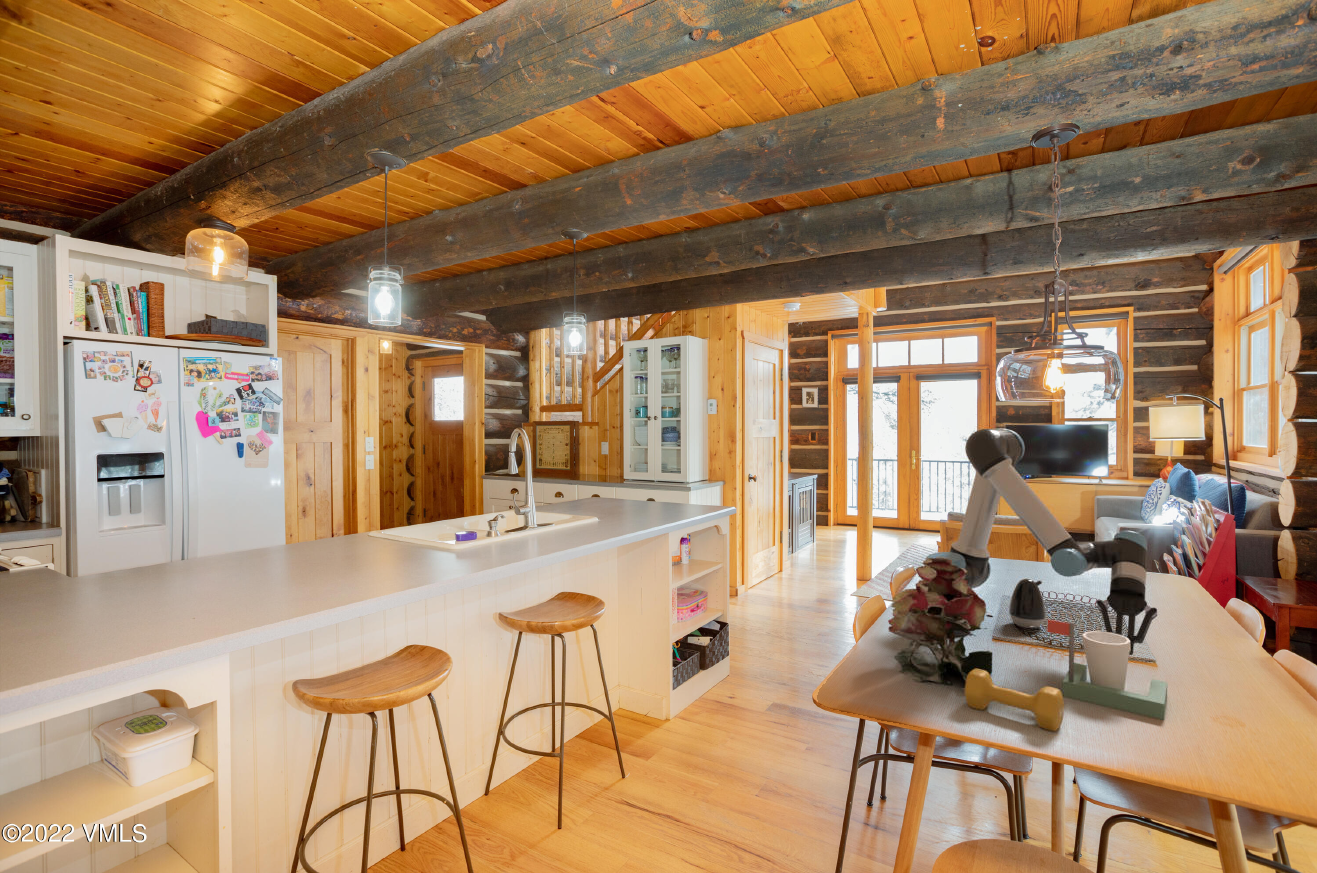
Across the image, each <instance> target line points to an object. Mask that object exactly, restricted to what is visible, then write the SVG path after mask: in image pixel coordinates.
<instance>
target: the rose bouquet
mask: <svg viewBox="0 0 1317 873" xmlns="http://www.w3.org/2000/svg"><path fill="white" fill-rule="evenodd" d="M921 563H922V565H921V566H918V567H915V568H916V569H915V572H916V574H917V576H918V577H919V578H920V579H919V580H918V582H916V583H915V585H914V586H915V588H906V589H903V590H902V591H900V592H899V593H897V594H896V595H895V596H893V598H892V600H891V602H893V603H891V608H894V609H892V616H893V617H892V618H890V619H889V620H887V621H888V622H887V623H888V624H889V625H890V626H889V627H888V632H889V633H890V634H891V633H892V634H894V635H897V636H899V637H902V638H906V639H907V640H910V642H909V643H908V647H905V648H903V649H901V651H900V652H897V653H896V655H894V658H895V659H896V660H897V662H899V664H900V665H901V669H900V670H899V673H901V674H903V675H905V676H908V677H910V679H912V680H913V681H914V682H915V683H916V682H917V683H921V682H922V683H923V681H931V682H935V683H938V684H942V685H946V686H950V687H951V686H953V683H952V682H950V681H948V680H946V679H945V678H943V677H946V674H947V671H948V670H949V668H950V669H952V670H953V671H956V672H957V673H958V674H961V675H962V678H963V681H965V682H966V679H967V676H968V674H969V672H971V671H972V670H973V669H981V670H985V671H987V672H988V673H989V674H990V675H992V673H993V652H992V651H991V650H977V651H970V652H968V655H966V646H965V644H964V638H965V636H961V637H960V638H959V639H958V640H956V636H955V634H954V630H955V631H959V632H962V633H964V634H967V635H966V636H970V637H972V636H974V637H976V635H975V634H974V633H969V632H968V631H971V632H975V631H978V630H982V629H983V630H984V629H985V630H988V629H989V628H988V627H984V628H982V627H981V626H982V625H981V624H982V622H984V621H985V617H988V618H994V615H991V614H987V613H988V611H987V607H986V606H987V605H986V604H987V603H986V602H985V600H984V599H982V597H979V596H980V595H979V594H978V593H976V591H975V590H974V589H973V588H972V589H971V588H970V586H968V585H967V583H968V581H966V580H964V579H963V578H965V577H964V576H965V574H966V573H967V571H966V570H965V569H963V568H961V567H957V566H956V565H954V564H952V560H950V559H947V558H943V557H940V558H939V557H937V558H927V560H926V561H925V560H923V562H921ZM955 640H956V641H955ZM914 643H915V645H914ZM996 643H998V640H996ZM912 646H913V647H912ZM921 646H923V647H926V648H928V649H929V650H930V652H927V651H924V650H921V649H919V648H920V647H921ZM905 673H909V674H908V675H907V674H905ZM961 690H964V691H965V687H963V688H962V687H961Z"/></svg>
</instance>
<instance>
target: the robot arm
mask: <svg viewBox="0 0 1317 873" xmlns="http://www.w3.org/2000/svg"><path fill="white" fill-rule="evenodd" d="M964 449H965V454H966V457H967V459H968V461H969V462H970V464H971V466H972V468H973V469H974V470H975V474H974V479H973V483H972V486H971V491H970V494H969V499H968V502H967V505H966V509H965V514H964V517H963V521H962V523H961V528H960V532H959V535H958V539H957V541H954V542H952V543H951V545H950V550H949V551H940V552H933V553H930V554H928V555H927V556H926V557H925V560H924V561H926V560H927V558H937V557H939V558H940V557H943V558H947V559H950V560H952V564H954V565H956V566H957V567H961V568H963V569H965V570H966V571H967V573H966V574H965V576H964V577H965V578H963V579H964V580H966V581H968V583H967V585H968V586H970V588H971V589H972V590H973V589H976V588H978V587H980V586H982V585H983V584H985V583H986V582H987V580H988V579H989V577H990V575H991V564H990V562H989V560H990V557H991V553H990V552H989V550H988V543H989V541H990V540H989V539H990V537H991V533H992V529H993V526H994V521H995V519H996V515H997V511H998V507H999V505H1000V501H1001V498H1002V499H1003V501H1004V500H1005V501H1004V502H1006V503H1007V505H1008V506H1009V507H1010V509H1011V510H1013V512H1014V514H1015V515H1016V516H1017V517H1018V518H1019V520H1021V522H1022V523H1023V524H1024V526H1025V527H1026V528H1027V529H1028V531H1029V532H1030V533H1031V535H1032V536H1033V538H1035V540H1036V541H1037V542H1038V543H1039V545H1041V547H1042V548H1043V550H1045V552H1046V553H1047V554H1048V555H1049V557H1050V564H1051V568H1052V569H1053V570H1054V571H1055V572H1056V573H1057V574H1059V575H1060V576H1063V577H1067V578H1071V577H1072V578H1073V577H1076V576H1081V575H1083V574H1084V573H1085V572H1089V571H1091V570H1093V569H1111V571H1110V586H1109V595H1108V596H1107V597H1106V599H1104V600H1101V599H1098V600H1097V601H1096V606H1097V609H1098V610H1099V611H1100V613H1101V615H1102V619H1103V623H1104V627H1105V632H1110V633H1115V634H1119V635H1122V636H1123V623H1124V616H1128V623H1127V624H1128V625H1127V634H1126V635H1127V638H1128V639H1129V640H1130V649H1131V651H1130V652H1129V656H1133V655H1134V646H1135V644H1143V643H1144V641H1145V638H1146V636H1147V634H1148V630H1149V629H1150V626H1151V624H1152V621H1153V620H1154V619H1156V617H1157V616H1158V609H1157V608H1156V607H1151V606H1150V605H1148V603H1147V601H1146V584H1147V564H1148V563H1147V559H1148V553H1149V552H1148V542H1147V538H1146V537H1145V536H1144V535H1142V534H1141V533H1139V532H1136V531H1133V530H1121V531H1119V532H1116V533H1115V534H1114V536H1113V538H1112V540H1111V539H1110V540H1102V541H1098V540H1097V541H1077V540H1076V541H1075V539H1074V538H1073V537H1072V536H1071V534H1069V532H1068V531H1067V530H1066V529H1065V528H1064V526H1063V525H1062V524H1061V523H1060V521H1059V520H1058V519H1057V518H1056V517H1055V515H1054V514H1053V513H1052V512H1051V510H1049V508H1048V507H1047V506H1046V504H1045V503H1044V502H1043V501H1042V500H1041V498H1040V497H1039V496H1038V495H1037V494H1036V493H1035V491H1034V490H1033V488H1031V486H1030V485H1029V484H1028V483H1027V482H1026V481H1025V480H1024V478H1023V477H1022V475H1021V474H1019V472H1018V470H1016V468H1015V467H1016V465H1017V464H1018V462H1020V461H1021V459H1022V458H1023V456H1024V454H1025V450H1026V448H1025V443H1024V440H1023V439H1022V437H1021V436H1020V435H1019V434H1018V433H1017V432H1016V431H1013V430H1011V429H1007V428H1001V427H1000V428H982V429H978V430H976V431H974V432H972V433H971V434H970V435H969V436H968V438H967V440H966V442H965V448H964ZM1109 607H1110V608H1111V609H1112V610H1113V611H1114V613H1116V616H1115V617H1116V619H1115V631H1113V628H1112V624H1111V620H1110V617H1109V613H1108V609H1109ZM1142 612H1144V613H1145V615H1144V617H1143V619H1142V622H1141V624H1140V627H1139V629H1138V632H1137V634H1136V635H1135V632H1136V628H1135V627H1136V617H1137V616H1138V615H1140V614H1142ZM968 632H969V633H971V632H972V631H968ZM954 634H955V637H963V636H964V637H965V636H968V635H967V634H964V633H962V632H959V631H955V630H954ZM971 634H972V633H971Z"/></svg>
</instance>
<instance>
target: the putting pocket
mask: <svg viewBox="0 0 1317 873" xmlns="http://www.w3.org/2000/svg"><path fill="white" fill-rule="evenodd" d="M1046 629H1047V633H1052V634H1056V635H1057V634H1058V635H1062V636H1067V637H1069V638H1068V642H1069V643H1068V671H1067V673H1066V674H1065V676H1064V678H1063V680H1062V696H1063V697H1066V698H1071V699H1074V700H1078V701H1079V700H1080V701H1084V702H1087V703H1092V704H1097V705H1099V706H1103V707H1107V708H1113V709H1116V710H1121V711H1124V712H1129V713H1133V714H1138V715H1142V716H1146V717H1150V718H1154V719H1159V720H1162V721H1164V720H1165V715H1166V709H1167V708H1166V707H1167V702H1168V701H1167V700H1168V681H1163V680H1160V679H1159V680H1158V679H1154V678H1151V679H1150V685H1149V690H1148V694H1147V695H1145V694H1142V693H1136V692H1132V691H1127V690H1125V689H1124V690H1119V689H1115V688H1110V687H1106V686H1101V685H1097V684H1092V683H1091V682H1087V679H1088V677H1087V676H1088V665H1087V664H1083V663H1077V662H1075V622H1071V621H1070V622H1064V621H1060V620H1055V619H1054V620H1052V619H1047V628H1046Z"/></svg>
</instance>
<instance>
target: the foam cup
mask: <svg viewBox="0 0 1317 873" xmlns="http://www.w3.org/2000/svg"><path fill="white" fill-rule="evenodd" d="M1081 635H1082V645H1083V648H1084V652H1085V654H1084V655H1085V659H1086V665H1087V672H1088V674H1089V675H1088V676H1089V679H1090V680H1089V681H1090V682H1089V683H1092V684H1097V685H1101V686H1106V687H1110V688H1115V689H1119V690H1124V691H1125V687H1126V679H1127V670H1128V665H1129V656H1130V655H1129V652H1130V651H1131V649H1130V640H1129V639H1128V637H1126V636H1124V635H1123V634H1122V635H1119V634H1115V633H1110V632H1106V631H1103V630H1101V631H1100V630H1099V631H1098V630H1097V631H1096V630H1094V631H1092V630H1091V631H1085V632H1083V633H1082V634H1081Z"/></svg>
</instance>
